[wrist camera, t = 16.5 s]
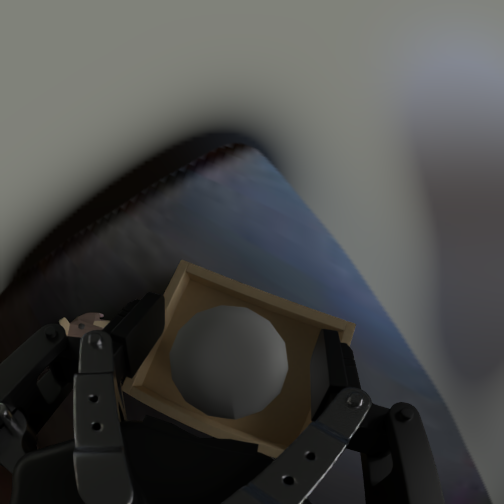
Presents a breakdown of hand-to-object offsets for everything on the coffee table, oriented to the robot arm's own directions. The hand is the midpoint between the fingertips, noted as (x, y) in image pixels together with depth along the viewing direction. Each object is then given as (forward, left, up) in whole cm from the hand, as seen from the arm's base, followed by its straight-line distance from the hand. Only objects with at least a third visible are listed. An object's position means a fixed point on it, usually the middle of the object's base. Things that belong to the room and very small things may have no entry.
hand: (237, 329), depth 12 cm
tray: (0, -1, -10) cm, 10 cm away
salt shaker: (0, -2, -10) cm, 10 cm away
